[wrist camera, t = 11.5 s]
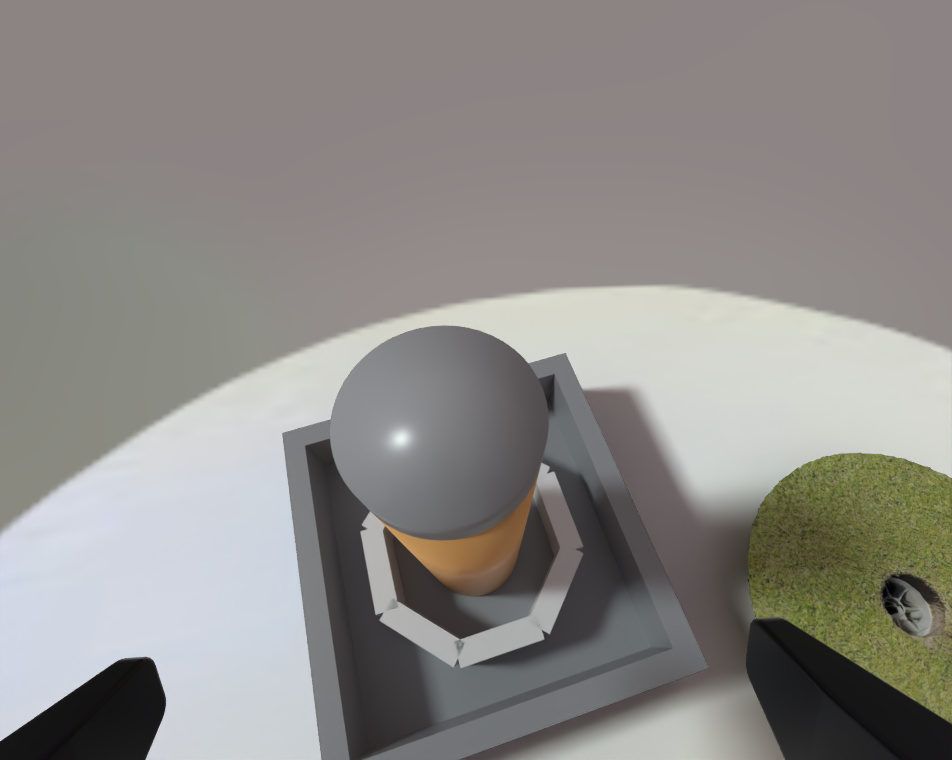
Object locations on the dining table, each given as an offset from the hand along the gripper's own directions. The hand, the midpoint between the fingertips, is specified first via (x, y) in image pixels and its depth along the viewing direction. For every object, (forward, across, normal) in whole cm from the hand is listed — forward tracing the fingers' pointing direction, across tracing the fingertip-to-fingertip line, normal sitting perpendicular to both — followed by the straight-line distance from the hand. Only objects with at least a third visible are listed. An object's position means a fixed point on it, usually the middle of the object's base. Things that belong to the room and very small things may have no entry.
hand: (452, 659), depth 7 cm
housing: (+12, 0, +7) cm, 13 cm away
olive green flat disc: (+10, -16, +9) cm, 20 cm away
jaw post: (+11, 0, +6) cm, 12 cm away
